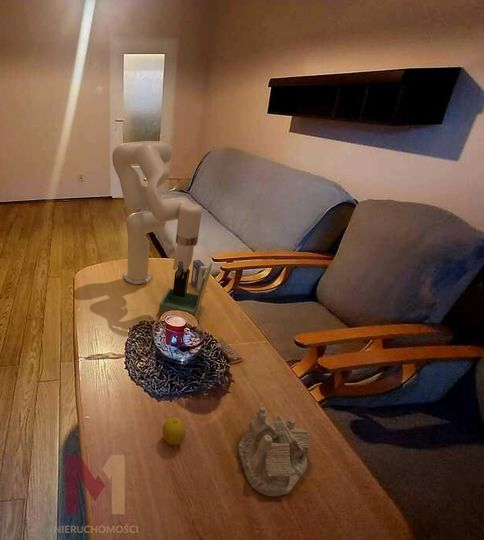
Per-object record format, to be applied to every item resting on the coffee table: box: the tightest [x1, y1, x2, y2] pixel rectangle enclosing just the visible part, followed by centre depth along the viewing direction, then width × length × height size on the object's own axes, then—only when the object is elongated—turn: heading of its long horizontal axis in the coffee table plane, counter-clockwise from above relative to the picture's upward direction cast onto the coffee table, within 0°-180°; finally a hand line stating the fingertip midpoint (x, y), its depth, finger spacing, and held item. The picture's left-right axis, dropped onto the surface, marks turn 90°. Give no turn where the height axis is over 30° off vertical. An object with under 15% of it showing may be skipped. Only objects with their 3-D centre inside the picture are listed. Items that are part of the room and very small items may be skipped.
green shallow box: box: [158, 287, 203, 319], centre depth 136 cm, size 14×13×6 cm
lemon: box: [162, 416, 186, 446], centre depth 86 cm, size 6×6×8 cm
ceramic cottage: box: [237, 406, 311, 497], centre depth 79 cm, size 16×16×15 cm
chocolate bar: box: [215, 341, 244, 365], centre depth 116 cm, size 11×5×1 cm, turn 20°
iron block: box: [172, 268, 191, 298], centre depth 132 cm, size 4×4×10 cm
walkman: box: [190, 259, 208, 292], centre depth 150 cm, size 8×3×12 cm, turn 11°
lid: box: [195, 262, 213, 311], centre depth 128 cm, size 14×13×1 cm
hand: (181, 282), depth 132 cm, fingers closed on iron block, 4 cm apart
